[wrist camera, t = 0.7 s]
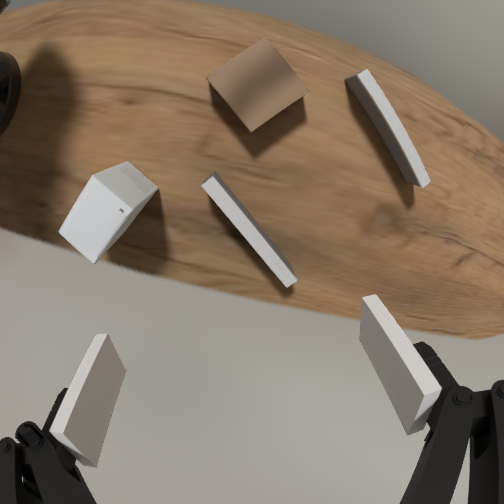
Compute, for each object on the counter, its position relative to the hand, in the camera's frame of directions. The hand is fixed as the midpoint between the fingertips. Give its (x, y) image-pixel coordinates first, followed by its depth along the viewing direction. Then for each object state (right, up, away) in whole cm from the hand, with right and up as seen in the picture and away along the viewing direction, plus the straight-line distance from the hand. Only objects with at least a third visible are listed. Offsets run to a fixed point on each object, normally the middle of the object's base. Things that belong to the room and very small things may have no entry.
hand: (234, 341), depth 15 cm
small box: (-15, +12, +22) cm, 29 cm away
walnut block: (+1, +24, +18) cm, 30 cm away
